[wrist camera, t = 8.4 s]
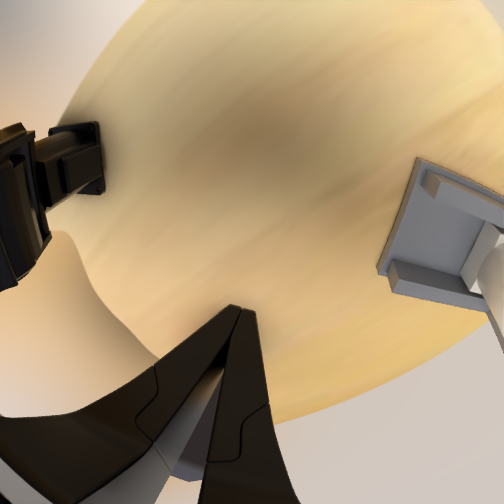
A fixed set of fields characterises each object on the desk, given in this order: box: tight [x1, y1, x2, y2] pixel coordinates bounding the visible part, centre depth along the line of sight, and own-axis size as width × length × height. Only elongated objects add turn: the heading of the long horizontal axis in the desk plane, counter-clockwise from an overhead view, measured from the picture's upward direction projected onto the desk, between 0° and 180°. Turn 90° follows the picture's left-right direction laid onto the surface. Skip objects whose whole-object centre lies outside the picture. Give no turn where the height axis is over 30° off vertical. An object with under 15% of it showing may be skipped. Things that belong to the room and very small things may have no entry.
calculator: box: [170, 371, 224, 482], centre depth 23 cm, size 11×4×15 cm, turn 156°
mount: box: [376, 157, 504, 353], centre depth 14 cm, size 12×9×9 cm
